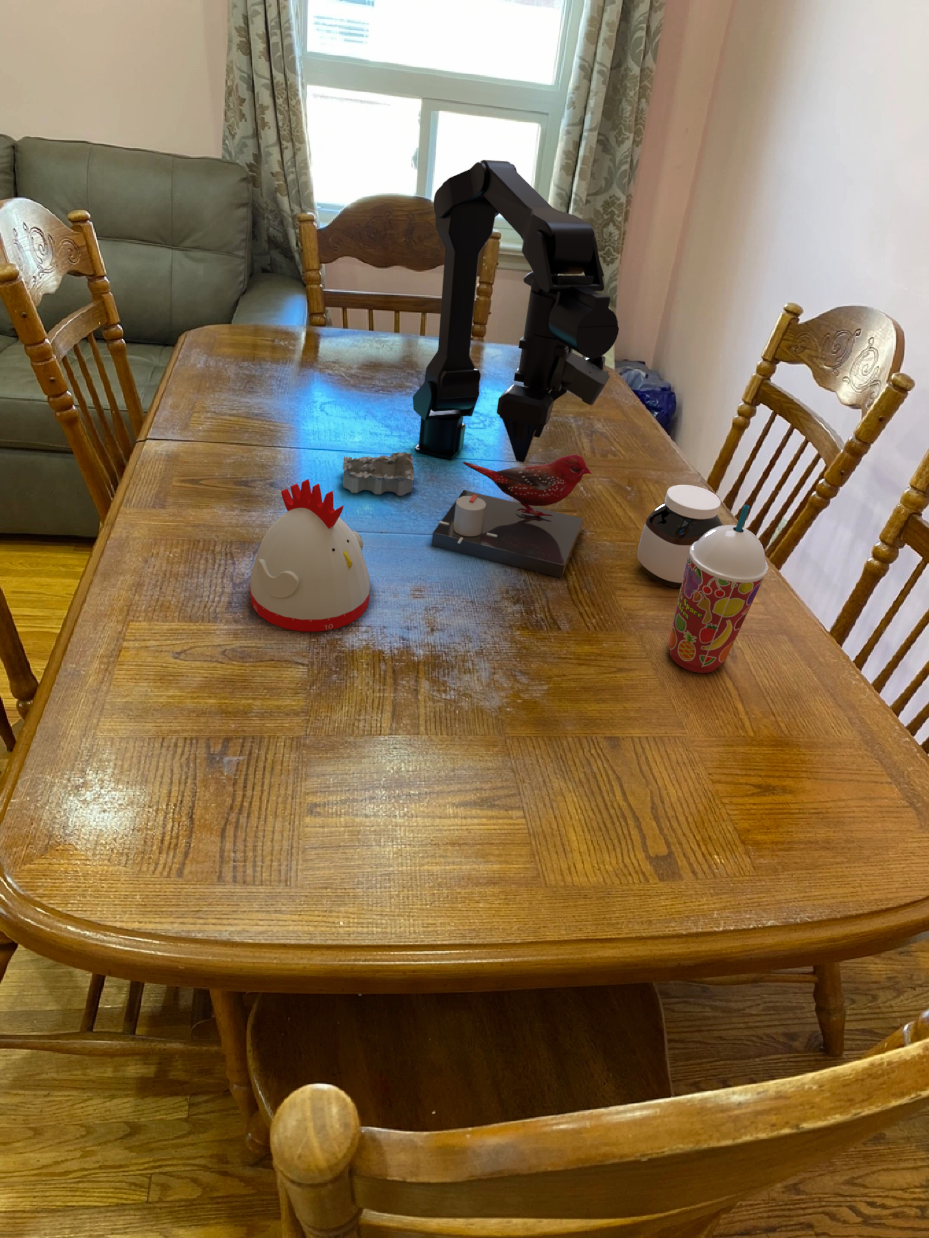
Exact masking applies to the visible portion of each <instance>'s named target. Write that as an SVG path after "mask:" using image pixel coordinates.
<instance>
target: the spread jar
mask: <svg viewBox="0 0 929 1238" xmlns="http://www.w3.org/2000/svg"><path fill="white" fill-rule="evenodd" d="M721 505H722V502H721V499H720V498H719V497H718V495H716V494H715V493H714V492H712V491H710V490H708V489H706V488H703V487H700V486H696V485H691V484H676V485H672V486H670V487H669V488H668V489H667V491H666V494H665V498H664V502H662V503H661V504H659V505H658V506H657V507H656V508H655V509H654V510H653V511H652V512H651V513H650V514H649V515H648V517H647V518H646V520H645V522H644V525H643V528H642V532H641V535H640V539H639V542H638V547H637V552H636V553H637V554H636V555H637V557H636V558H637V561H638V563H639V566H640V567H641V568H642V570H643V571H644V572H645V574H647V575H648V576H649V578H651V580H653V581H655V582H656V583H658V584H661V585H663V586H666V587H671V588H678V589H681V585H682V580H683V576H684V572H685V568H686V563H687V559H688V555H689V549H690V547H691V545H692V544H693V543H694V542H696V541H698V540H699V539H700V538H701V537H702V536H703V535H704V534H705V533H706V532H708V531H709V530H711V529H713V528H716V527H718V526H723V525H724V524H723V522H722V520H721V518H720V517H719V515H718V514H719V510H720V507H721Z"/></svg>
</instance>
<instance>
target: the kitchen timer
mask: <svg viewBox="0 0 929 1238" xmlns="http://www.w3.org/2000/svg"><path fill="white" fill-rule="evenodd" d="M300 484H301V485H299V484H298V483H294V484H293V485H290V491H289V489H288V488H285V489H283V490H281V492H280V494H281V498H282V501H283V504H284V506H285V509H286V512H284V513H282V515H281V516H280V517H279V518H277V519H276V520H275V521H274V523H273V524H272V525H271V526H270V527H269V529H268V530H267V531H266V533H265V534H264V536H263V538H262V540H261V543H260V545H259V547H258V551H257V553H256V555H255V556H256V557H255V560H254V562H253V566H252V569H251V573H250V579H249V595H250V602H251V607H252V608H253V609H254V611H255V613H256V614H257V615H258V616H259V617H261V619H263V620H265V621H266V622H268V623H269V624H271V625H274V626H277V627H279V628H281V629H285V630H290V631H296V632H307V633H308V632H324V631H325V632H326V631H330V630H336V629H340V628H341V627H344V626H347V625H349V624H352V623H353V622H354V621H356V620H357V619H359V618H360V617H362V616H363V614H364V613H365V612H366V610H367V609H368V607H369V603H370V593H371V580H370V574H369V573H370V572H369V570H368V567H367V564H366V560H365V557H364V554H363V549H364V541H363V539H362V537H361V536H360V534H359V532H357V531H355V530H352V529H351V528H350V526H349V525H348V524H347V523H346V522H345V521H344V520H343V519H342V518H341V514H342V513H343V510H344V507H345V505H341V506H339V507H337V508H334V507H335V505H334V499H335V498H334V490H331V491H328V492H327V493H326V494H325V496H324V498H323V496H322V490H321V486H320V483H317V484H314V485H313V486H312V488H311V483H310V479H309V478H306V479H305V480H302V481H301V483H300Z"/></svg>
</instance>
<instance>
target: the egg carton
mask: <svg viewBox="0 0 929 1238" xmlns="http://www.w3.org/2000/svg"><path fill="white" fill-rule="evenodd" d="M341 470H342V471H343V474H342V476H343V477H342V478H343V479H342V480H343V481H342V483H343V484H342V487H343V488H344V489H346V490H348V491H350V493H351V494H358V493H359V492H362V491H370V492H373V494H374V495H382V494H383V493H385V492H392V493H395V494H396V495H397V496H398V497H399V496H402V497H403V496H405V495H406V494H410V493H412V491H413V484H414V480H415V478H414V477H415V468H414V459H413V453H412V452H409V453H407V452H406V451H403V452H392V453H391V455H390V456H387V455H380V456H375V457H374V456H373V457H371V456H362V457H358V458H357V457H354V458H353V457H352V456H343V462H342V469H341Z"/></svg>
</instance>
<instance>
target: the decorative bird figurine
mask: <svg viewBox="0 0 929 1238" xmlns="http://www.w3.org/2000/svg"><path fill="white" fill-rule="evenodd" d="M462 464H463V465H464V466H466V467H468V468H470V469H471V470H473V471H475V472H477V473H479V474H480V475H483V476H484V477H487V479H489V480H491V481H492V482H493V483H494V484H495V485H496V486H497V488H498V489H499V490H500V492H502V493H503V494H505V495H507V496H509V497H511V498H513V500H516V501H517V502H518V503H520V504H522V505H523V506H524V507H526V509H524V508H520V509H518V510H516V511H519V510H522V513H528V514H533V515H535V516H552V515H550V514H544V513H542V512H540V511H535V510H534V509H533V508H531V507H530V506H533V507H547V506H551V505H554V504H557V503H559V502H561V501H563V500H564V499H566V498H567V497H568V496H569V495H570V494H571V493H573V490H574V488H576V486H577V485H578V484H579V483H580V482H581V480H582V478H583V477H584V475H588V474H590V475H592V474H593V473H592V471H591V470H590V468H589V467H587V464H586V461H585V459H584V458H583V457H582V456H581V455H579V454H568V455H564V456H561V457H559V458H558V459H555V460H554V461H552V462H550V463H545V464H538V465H537V464H536V465H523V466H515V467H510V468H504V469H502V470H498V471H496V470H494V469H489V468H486V467H483V466H480V465H477V464H474V463H471V462H467V461H463V462H462ZM523 510H524V511H523Z"/></svg>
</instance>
